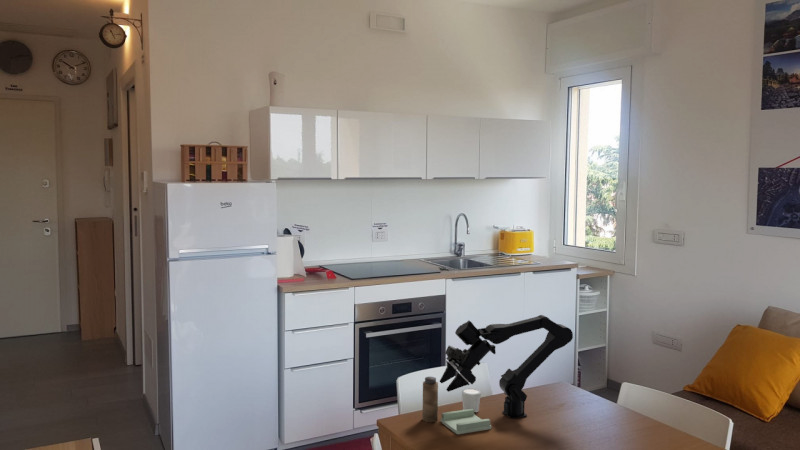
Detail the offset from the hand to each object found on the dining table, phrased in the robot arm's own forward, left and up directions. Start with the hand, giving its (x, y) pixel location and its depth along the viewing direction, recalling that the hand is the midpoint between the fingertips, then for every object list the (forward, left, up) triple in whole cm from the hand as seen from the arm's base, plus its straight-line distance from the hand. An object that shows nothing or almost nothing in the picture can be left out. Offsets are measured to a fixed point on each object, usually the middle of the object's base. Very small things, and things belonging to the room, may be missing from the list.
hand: (443, 386), depth 212 cm
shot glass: (-13, -4, -12) cm, 18 cm away
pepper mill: (+5, -1, -11) cm, 12 cm away
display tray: (-4, +8, -11) cm, 15 cm away
